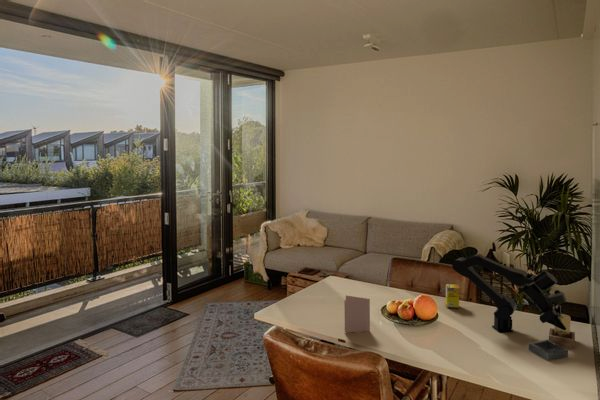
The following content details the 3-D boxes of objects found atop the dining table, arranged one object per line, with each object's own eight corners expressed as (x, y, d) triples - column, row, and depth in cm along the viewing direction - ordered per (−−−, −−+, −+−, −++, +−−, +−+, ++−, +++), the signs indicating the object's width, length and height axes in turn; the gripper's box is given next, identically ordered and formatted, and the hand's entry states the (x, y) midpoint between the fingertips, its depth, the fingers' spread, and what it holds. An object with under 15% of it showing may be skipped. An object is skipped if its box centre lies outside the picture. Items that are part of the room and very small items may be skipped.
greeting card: (370, 330, 196) (370, 298, 194) (364, 337, 189) (364, 303, 187) (346, 326, 201) (346, 294, 199) (340, 332, 194) (340, 299, 193)
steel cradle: (548, 361, 165) (548, 353, 164) (528, 350, 174) (528, 343, 173) (567, 357, 167) (568, 349, 167) (547, 346, 176) (547, 339, 176)
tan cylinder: (559, 345, 177) (560, 319, 176) (550, 339, 183) (552, 314, 182) (572, 344, 178) (573, 318, 177) (563, 338, 183) (564, 313, 182)
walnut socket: (548, 343, 179) (548, 335, 178) (549, 335, 186) (549, 327, 186) (574, 348, 174) (574, 340, 174) (574, 340, 182) (574, 332, 181)
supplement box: (459, 309, 219) (459, 287, 218) (446, 308, 221) (447, 287, 219) (457, 304, 225) (457, 284, 224) (445, 304, 226) (445, 283, 225)
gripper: (550, 291, 173) (581, 324, 167) (556, 279, 187) (585, 309, 182) (527, 306, 178) (557, 339, 173) (534, 294, 193) (562, 323, 188)
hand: (566, 327), depth 179 cm, fingers closed on tan cylinder, 5 cm apart
